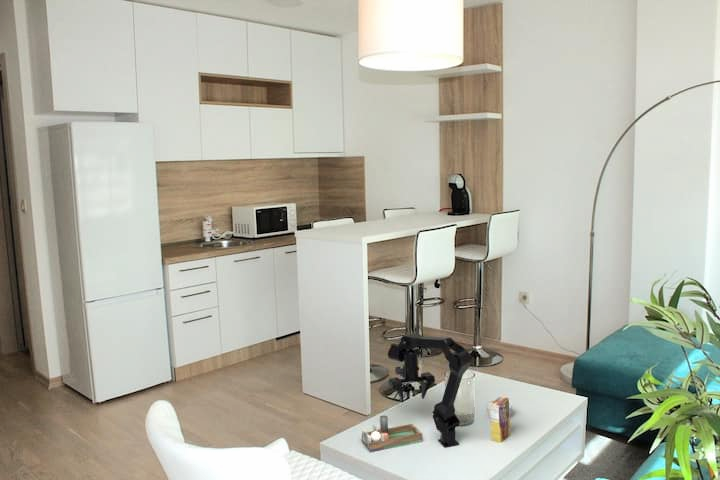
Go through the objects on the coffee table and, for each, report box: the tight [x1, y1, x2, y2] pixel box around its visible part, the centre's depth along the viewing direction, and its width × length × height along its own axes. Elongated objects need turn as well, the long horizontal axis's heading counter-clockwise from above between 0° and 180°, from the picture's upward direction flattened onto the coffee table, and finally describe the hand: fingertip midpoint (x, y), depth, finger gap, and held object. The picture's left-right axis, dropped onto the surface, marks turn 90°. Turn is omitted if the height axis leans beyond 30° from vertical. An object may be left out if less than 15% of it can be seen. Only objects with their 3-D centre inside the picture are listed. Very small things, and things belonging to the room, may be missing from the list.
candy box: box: [490, 396, 511, 443], centre depth 240 cm, size 9×4×15 cm, turn 140°
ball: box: [370, 431, 381, 442], centre depth 240 cm, size 4×4×4 cm
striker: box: [377, 415, 389, 440], centre depth 240 cm, size 7×3×10 cm, turn 18°
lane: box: [361, 423, 423, 453], centre depth 242 cm, size 10×22×6 cm, turn 108°
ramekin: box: [485, 399, 513, 419], centre depth 261 cm, size 11×11×5 cm
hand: (412, 400), depth 250 cm, fingers open, 9 cm apart
